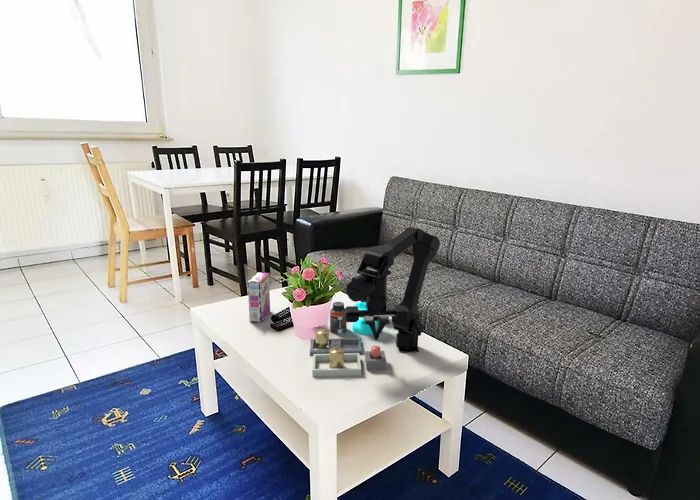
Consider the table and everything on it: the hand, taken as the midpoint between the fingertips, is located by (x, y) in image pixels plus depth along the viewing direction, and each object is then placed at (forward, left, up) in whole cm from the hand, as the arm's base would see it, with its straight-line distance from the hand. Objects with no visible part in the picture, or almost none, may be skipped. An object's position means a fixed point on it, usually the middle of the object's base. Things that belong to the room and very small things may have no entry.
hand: (376, 339), depth 136 cm
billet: (+12, +1, -9) cm, 15 cm away
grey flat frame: (+12, -11, -10) cm, 19 cm away
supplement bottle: (+11, -24, -10) cm, 28 cm away
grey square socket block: (0, 0, -10) cm, 10 cm away
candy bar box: (+41, -39, -10) cm, 57 cm away
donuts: (+1, -25, -10) cm, 27 cm away
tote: (+12, +1, -10) cm, 15 cm away
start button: (0, 0, -6) cm, 6 cm away
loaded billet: (+17, -11, -9) cm, 22 cm away
